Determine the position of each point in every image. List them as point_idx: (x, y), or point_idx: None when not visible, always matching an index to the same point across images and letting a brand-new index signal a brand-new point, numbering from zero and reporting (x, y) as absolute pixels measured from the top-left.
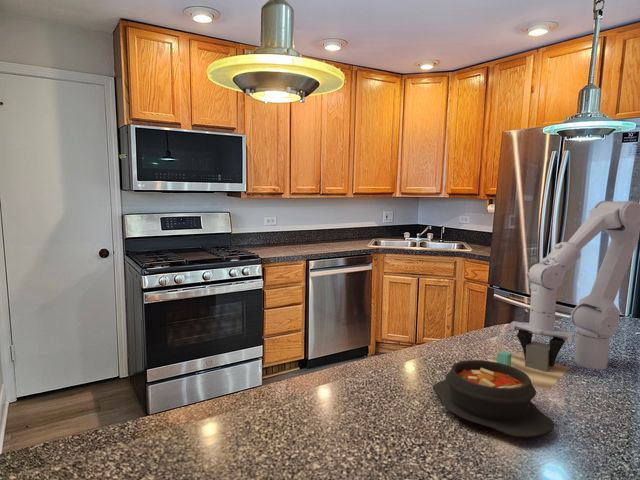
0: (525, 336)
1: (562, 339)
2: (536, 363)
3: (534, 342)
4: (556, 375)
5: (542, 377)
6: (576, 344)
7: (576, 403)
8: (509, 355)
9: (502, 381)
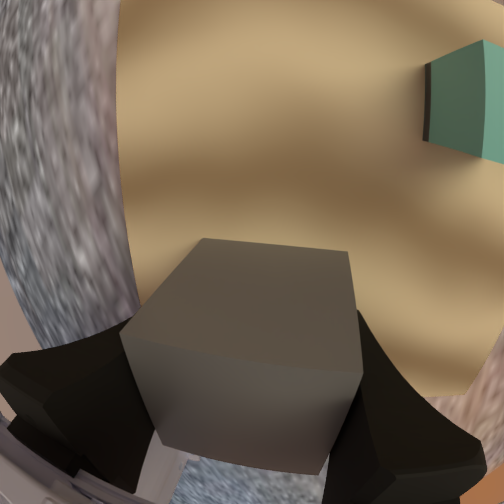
0: (385, 476)
1: (12, 427)
2: (263, 265)
3: (300, 458)
4: (148, 221)
5: (191, 118)
6: (146, 477)
7: (46, 13)
8: (479, 98)
9: None
